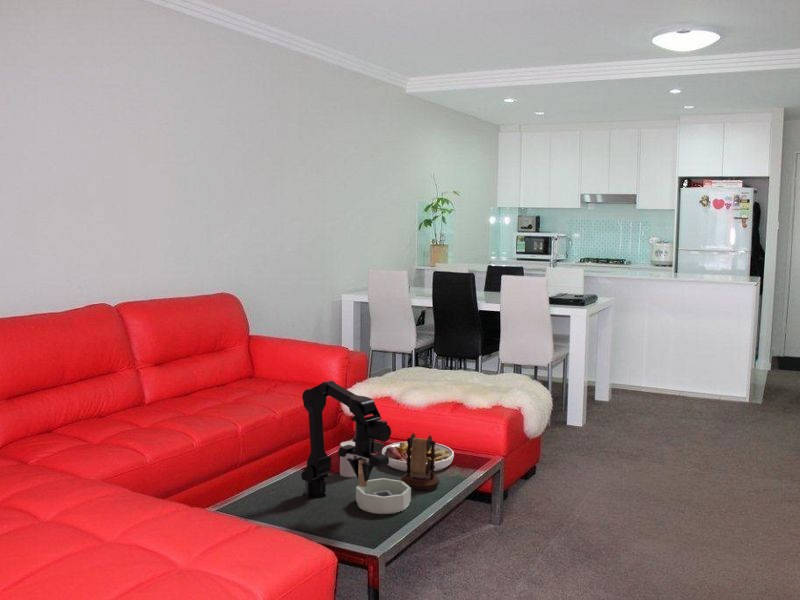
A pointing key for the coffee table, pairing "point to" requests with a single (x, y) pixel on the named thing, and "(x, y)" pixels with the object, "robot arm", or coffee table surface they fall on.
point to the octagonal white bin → (383, 496)
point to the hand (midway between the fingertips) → (362, 479)
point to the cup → (346, 462)
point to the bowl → (399, 456)
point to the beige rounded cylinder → (361, 474)
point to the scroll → (420, 464)
